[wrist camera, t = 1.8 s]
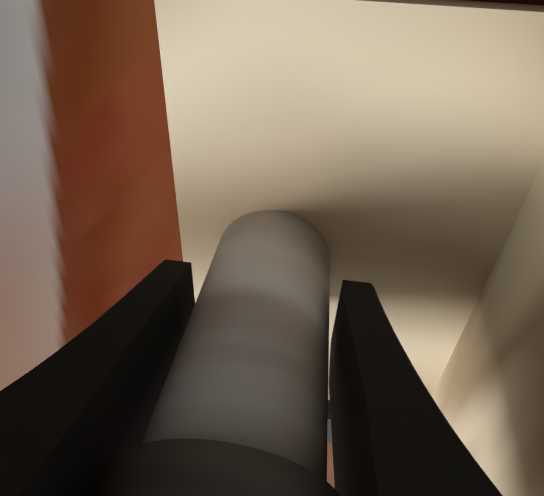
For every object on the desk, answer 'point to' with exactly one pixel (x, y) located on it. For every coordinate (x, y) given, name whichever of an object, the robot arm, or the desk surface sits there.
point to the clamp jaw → (349, 230)
